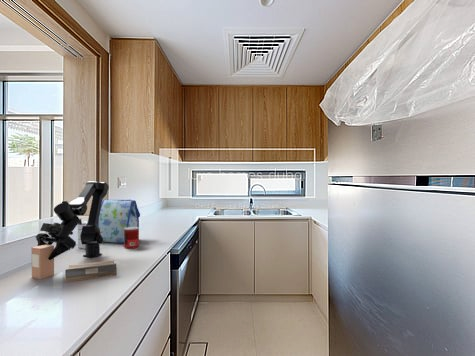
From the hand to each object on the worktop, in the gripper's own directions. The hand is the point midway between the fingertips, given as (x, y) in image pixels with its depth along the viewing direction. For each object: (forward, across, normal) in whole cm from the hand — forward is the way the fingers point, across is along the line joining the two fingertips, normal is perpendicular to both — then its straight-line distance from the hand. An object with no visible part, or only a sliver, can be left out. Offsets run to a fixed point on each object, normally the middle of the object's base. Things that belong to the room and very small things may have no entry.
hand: (41, 258), depth 118 cm
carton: (+5, 0, +6) cm, 7 cm away
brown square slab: (-3, +14, +14) cm, 20 cm away
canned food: (-32, -3, +42) cm, 53 cm away
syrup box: (-25, -28, +35) cm, 52 cm away
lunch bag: (-39, -23, +50) cm, 67 cm away
